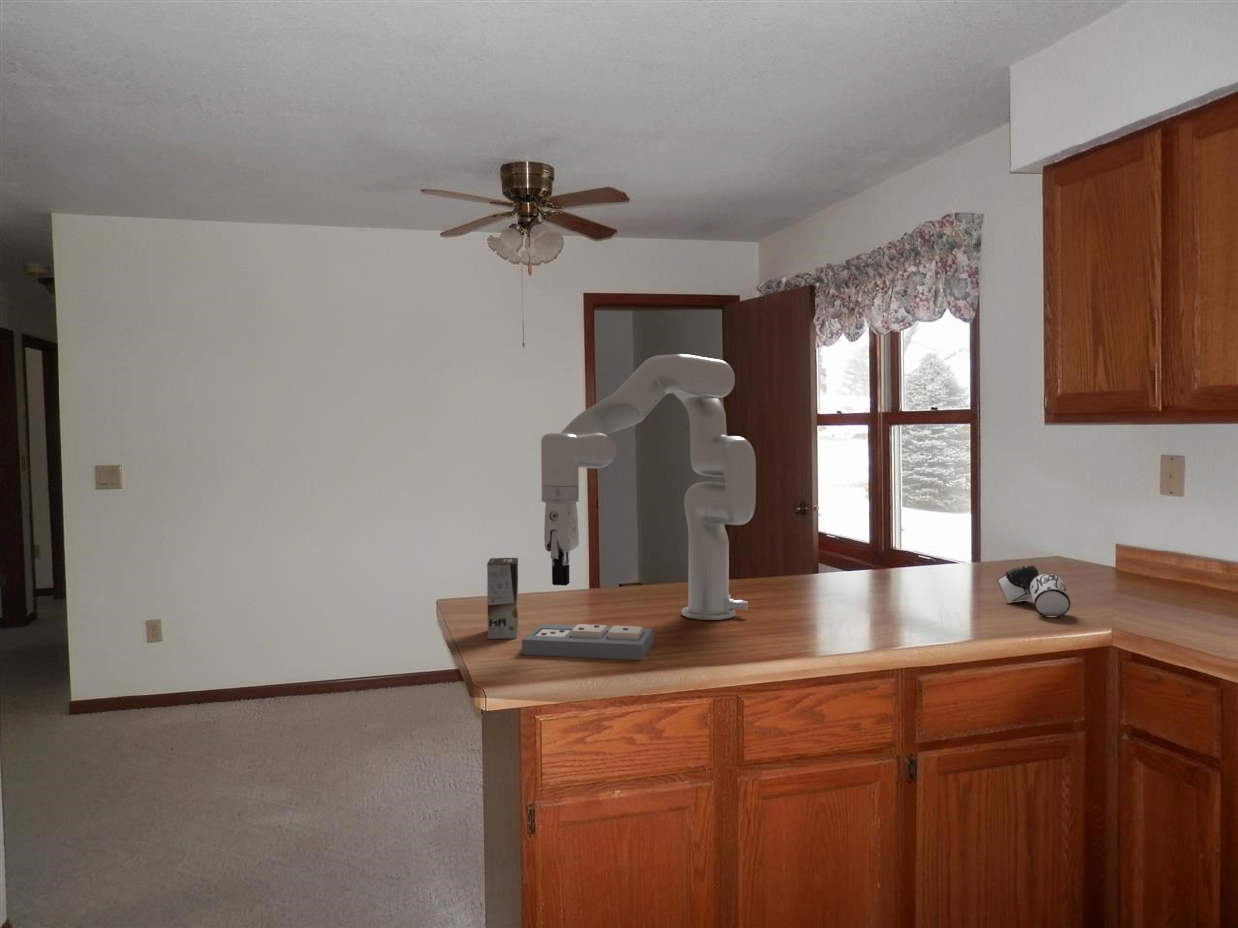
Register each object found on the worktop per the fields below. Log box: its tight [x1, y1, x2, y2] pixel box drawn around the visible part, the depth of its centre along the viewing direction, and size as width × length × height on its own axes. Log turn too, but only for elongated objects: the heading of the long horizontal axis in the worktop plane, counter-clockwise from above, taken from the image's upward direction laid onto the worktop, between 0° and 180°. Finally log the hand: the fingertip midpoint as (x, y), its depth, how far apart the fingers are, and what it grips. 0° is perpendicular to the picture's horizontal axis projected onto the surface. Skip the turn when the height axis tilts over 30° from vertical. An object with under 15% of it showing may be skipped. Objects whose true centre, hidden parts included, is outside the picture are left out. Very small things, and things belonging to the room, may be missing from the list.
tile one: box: [608, 625, 644, 640], centre depth 181 cm, size 6×6×2 cm
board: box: [521, 623, 654, 661], centre depth 182 cm, size 24×14×3 cm, turn 79°
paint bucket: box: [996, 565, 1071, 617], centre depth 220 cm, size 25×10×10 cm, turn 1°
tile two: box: [571, 623, 608, 638], centre depth 182 cm, size 6×6×2 cm
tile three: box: [535, 629, 571, 637], centre depth 184 cm, size 6×6×2 cm
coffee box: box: [486, 557, 519, 640], centre depth 195 cm, size 9×6×16 cm
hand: (560, 584), depth 183 cm, fingers closed
